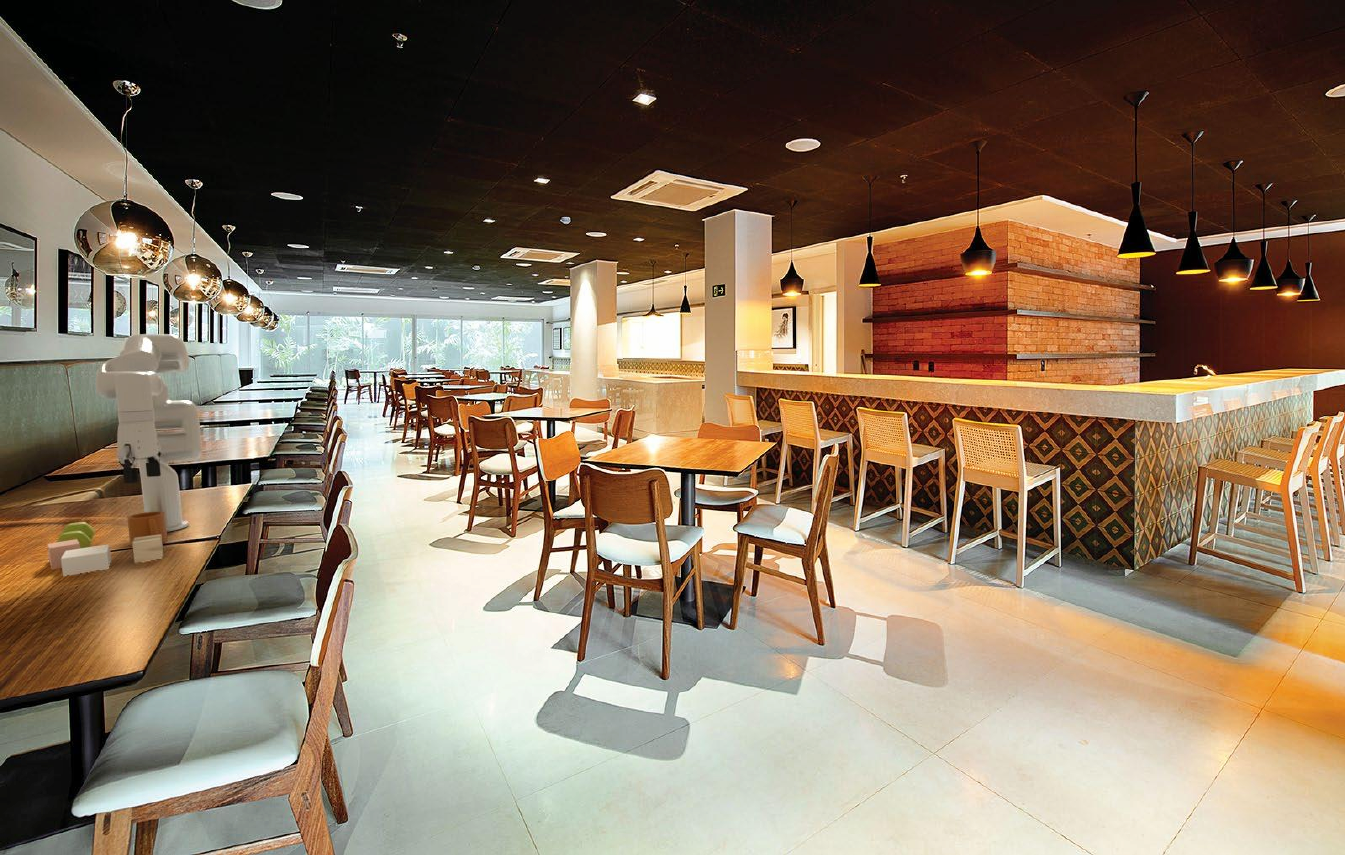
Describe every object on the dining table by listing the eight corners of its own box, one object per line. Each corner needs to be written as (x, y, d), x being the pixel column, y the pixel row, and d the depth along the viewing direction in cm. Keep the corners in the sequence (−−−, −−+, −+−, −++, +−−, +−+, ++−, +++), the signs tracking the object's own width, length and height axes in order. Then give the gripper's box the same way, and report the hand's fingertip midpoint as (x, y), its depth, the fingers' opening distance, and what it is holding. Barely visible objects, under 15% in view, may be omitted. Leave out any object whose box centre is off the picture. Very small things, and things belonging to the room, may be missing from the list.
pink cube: (50, 565, 176) (47, 544, 176) (79, 559, 181) (76, 539, 180) (52, 569, 172) (49, 548, 172) (82, 564, 177) (79, 543, 176)
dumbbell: (92, 555, 185) (89, 531, 184) (54, 561, 180) (50, 536, 179) (97, 542, 198) (94, 519, 197) (62, 547, 193) (59, 523, 192)
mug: (130, 552, 187) (126, 522, 186) (130, 543, 196) (126, 514, 195) (169, 545, 193) (165, 516, 192) (167, 537, 202) (163, 509, 201)
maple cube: (136, 558, 182) (134, 537, 181) (163, 554, 185) (161, 534, 184) (134, 563, 177) (132, 542, 176) (162, 559, 180) (160, 539, 180)
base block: (67, 568, 174) (65, 550, 173) (111, 561, 179) (109, 544, 179) (63, 577, 167) (61, 558, 166) (108, 569, 172) (106, 552, 172)
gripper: (140, 415, 181) (147, 474, 183) (98, 421, 164) (106, 486, 166) (170, 414, 183) (176, 473, 185) (131, 420, 166) (138, 484, 168)
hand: (143, 479), depth 175 cm, fingers open, 9 cm apart
